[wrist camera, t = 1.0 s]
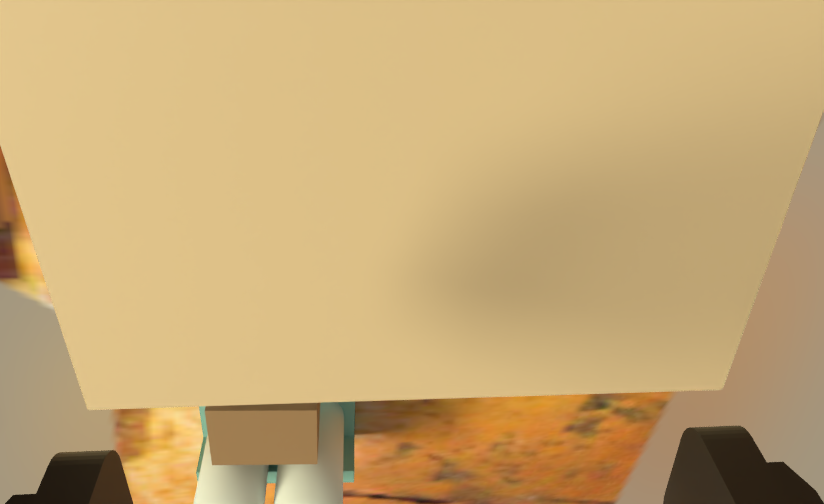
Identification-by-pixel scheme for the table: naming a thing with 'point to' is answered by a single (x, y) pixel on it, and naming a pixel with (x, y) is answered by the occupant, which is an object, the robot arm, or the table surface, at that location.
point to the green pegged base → (276, 453)
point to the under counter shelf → (404, 190)
